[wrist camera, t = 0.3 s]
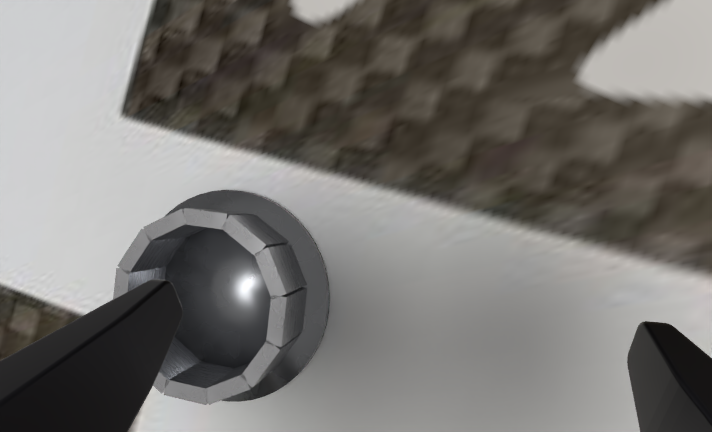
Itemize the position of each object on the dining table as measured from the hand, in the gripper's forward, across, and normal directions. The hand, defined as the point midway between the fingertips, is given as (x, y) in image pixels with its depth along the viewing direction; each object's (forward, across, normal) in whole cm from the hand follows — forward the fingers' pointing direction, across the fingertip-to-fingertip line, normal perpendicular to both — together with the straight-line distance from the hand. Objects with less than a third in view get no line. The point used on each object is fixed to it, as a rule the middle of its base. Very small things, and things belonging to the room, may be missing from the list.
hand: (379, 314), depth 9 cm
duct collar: (+11, +11, +11) cm, 19 cm away
